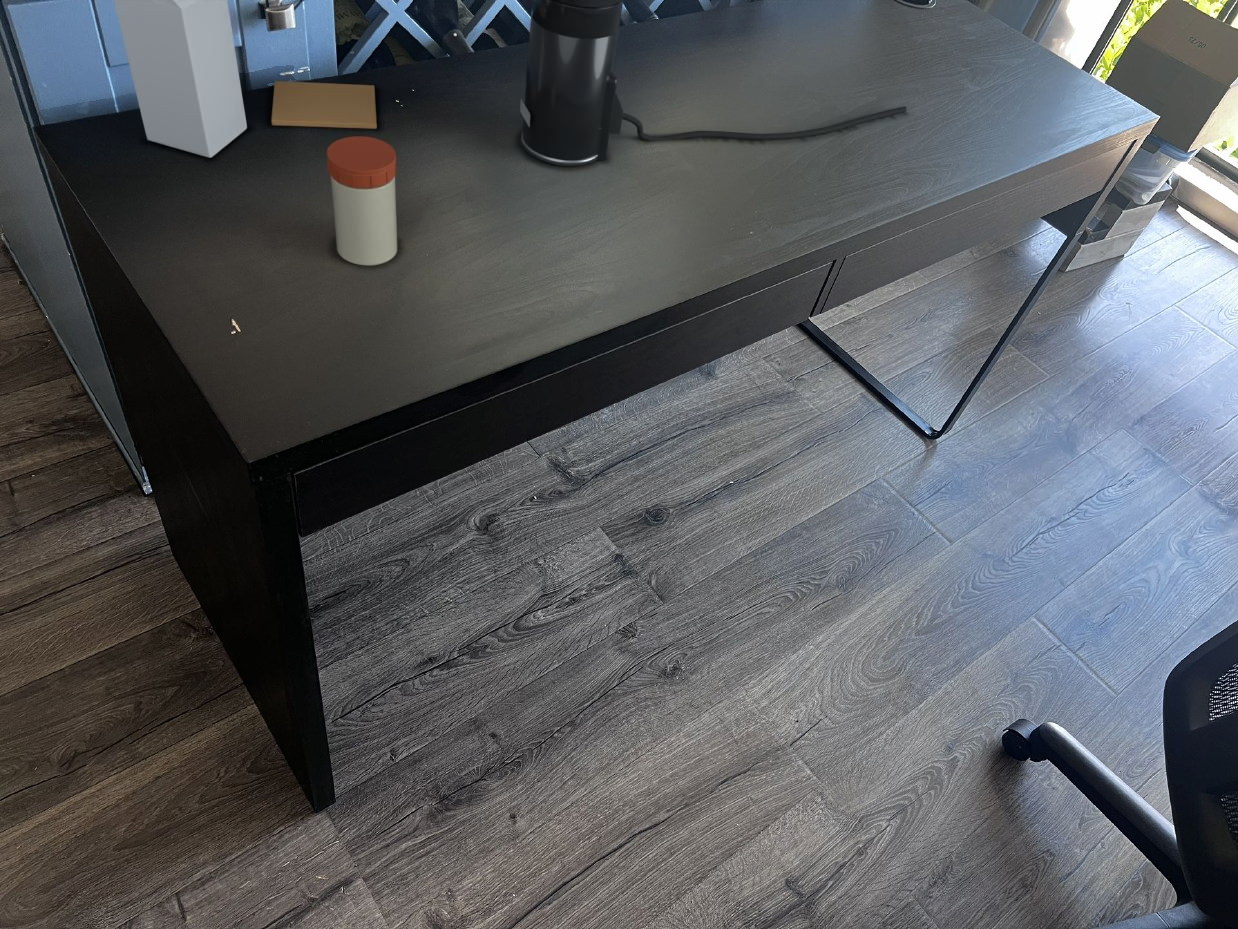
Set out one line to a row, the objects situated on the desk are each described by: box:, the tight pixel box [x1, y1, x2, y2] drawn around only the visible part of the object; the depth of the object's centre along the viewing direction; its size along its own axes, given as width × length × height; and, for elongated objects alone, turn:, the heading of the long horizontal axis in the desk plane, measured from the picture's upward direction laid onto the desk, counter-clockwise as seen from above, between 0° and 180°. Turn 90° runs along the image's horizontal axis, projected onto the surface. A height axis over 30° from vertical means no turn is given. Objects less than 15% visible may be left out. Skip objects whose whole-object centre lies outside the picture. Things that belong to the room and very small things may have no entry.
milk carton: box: [113, 0, 248, 158], centre depth 91 cm, size 7×7×19 cm
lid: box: [326, 135, 397, 188], centre depth 83 cm, size 6×6×2 cm
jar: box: [329, 174, 398, 266], centre depth 86 cm, size 6×6×9 cm
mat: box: [271, 80, 378, 130], centre depth 106 cm, size 11×9×1 cm
